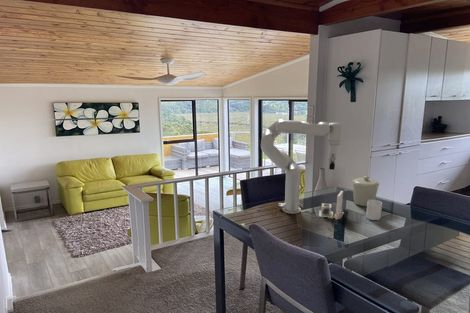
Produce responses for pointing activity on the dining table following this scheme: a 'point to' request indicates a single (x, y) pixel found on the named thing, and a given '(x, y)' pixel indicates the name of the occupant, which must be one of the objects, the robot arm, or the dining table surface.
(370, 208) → the mug
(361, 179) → the canister
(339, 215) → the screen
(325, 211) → the letter cube
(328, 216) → the mat
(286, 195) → the robot arm
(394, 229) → the dining table surface
